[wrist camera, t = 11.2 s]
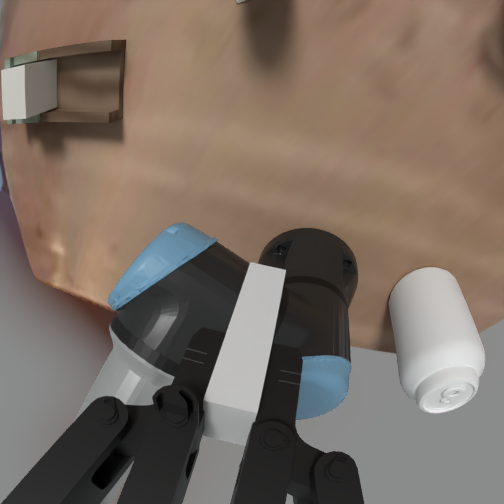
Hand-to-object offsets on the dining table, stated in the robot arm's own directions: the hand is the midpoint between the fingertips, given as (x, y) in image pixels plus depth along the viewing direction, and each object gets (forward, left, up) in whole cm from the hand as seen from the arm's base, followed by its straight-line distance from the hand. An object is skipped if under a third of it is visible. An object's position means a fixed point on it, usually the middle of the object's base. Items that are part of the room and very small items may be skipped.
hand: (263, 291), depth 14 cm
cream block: (+5, +40, -28) cm, 49 cm away
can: (-20, -25, -30) cm, 44 cm away
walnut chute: (+5, +36, -29) cm, 47 cm away
